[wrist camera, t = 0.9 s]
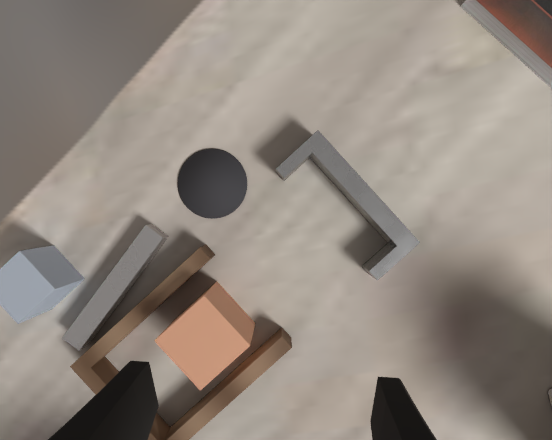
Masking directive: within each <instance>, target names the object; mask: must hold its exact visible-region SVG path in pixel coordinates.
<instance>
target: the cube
mask: <svg viewBox="0 0 552 440" xmlns="http://www.w3.org/2000/svg"><path fill="white" fill-rule="evenodd" d="M254 327H255V322H254V321H253V320H252V319H251V318H250V317H249V316H248V315H247V314H246V313H245V311H244V310H243V309H242V308H241V307H240V306H239V305H238V304H237V303H236V302H235V301H234V299H233V298H232V297H231V296H230V295H229V294H228V293H227V292H226V291H225V290H224V289H223V287H222V286H221V285H220V284H219V283H218V282H216V283H214V284H213V285H212V286H211V287H210V288H209V289H208V290H207V291H206V292H205V293H203V294H202V295H201V296H200V297H199V298H198V299H197V300H196V301H195V302H194V303H192V304H191V305H190V306H189V307H188V308H187V309H186V310H185V311H184V312H183V313H182V314H180V315H179V316H178V317H177V318H176V319H175V320H174V321H173V322H172V323H171V324H170V325H169V326H168V327H167V328H166V329H165V330H164V331H163V332H162V333H161V334H160V335H159V336H158V337H157V338H156V339H155V342H156V343H157V344H158V345H159V346H160V348H161V349H162V350H163V351H164V352H165V353H166V354H167V355H168V356H169V357H170V358H171V359H172V361H173V362H174V363H175V364H176V365H177V366H178V367H179V368H180V369H181V370H182V371H183V372H184V374H185V375H186V376H187V377H188V378H189V379H190V380H191V381H192V382H193V383H194V384H195V385H196V387H197V388H198V389H199V390H202V389H203V388H204V387H205V386H206V385H207V384H208V383H209V382H210V381H212V380H213V379H214V378H215V377H216V376H217V375H218V374H219V373H220V372H222V371H223V370H224V369H225V368H226V367H227V366H228V365H229V364H231V363H232V362H233V361H234V360H235V359H236V358H237V357H238V356H239V355H241V354H242V353H243V352H244V351H245V350H246V349H247V348H248V347H249V346H250V345H251V340H252V336H253V332H254Z"/></svg>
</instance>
